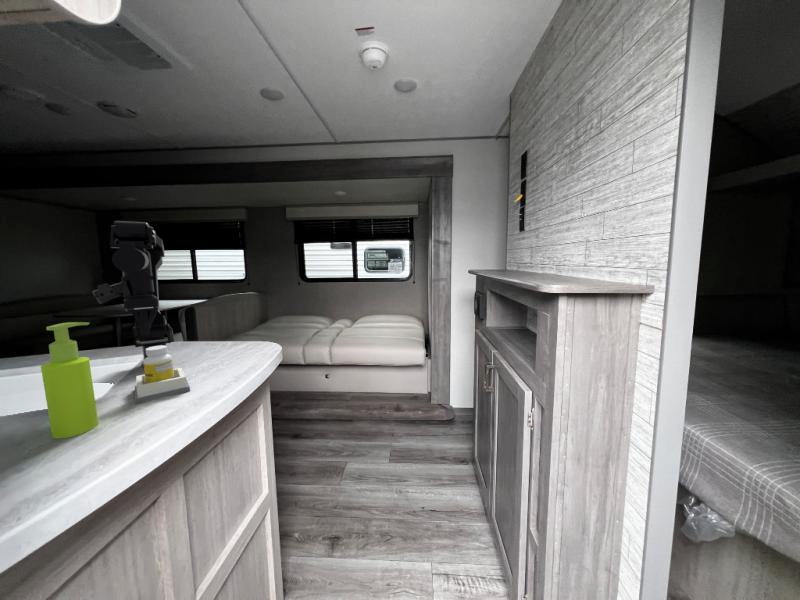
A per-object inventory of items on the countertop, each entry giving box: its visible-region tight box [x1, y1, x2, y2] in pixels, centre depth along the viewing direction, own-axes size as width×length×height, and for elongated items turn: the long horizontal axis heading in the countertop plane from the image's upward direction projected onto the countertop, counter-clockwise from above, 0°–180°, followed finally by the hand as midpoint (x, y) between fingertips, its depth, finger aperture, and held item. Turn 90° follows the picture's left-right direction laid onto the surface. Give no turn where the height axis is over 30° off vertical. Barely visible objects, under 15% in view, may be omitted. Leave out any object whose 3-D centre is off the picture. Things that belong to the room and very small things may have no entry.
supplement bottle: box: [142, 345, 174, 384], centre depth 73 cm, size 5×5×10 cm
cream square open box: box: [134, 367, 191, 404], centre depth 73 cm, size 10×10×4 cm
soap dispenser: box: [40, 321, 99, 439], centre depth 56 cm, size 6×7×20 cm
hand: (144, 331), depth 79 cm, fingers open, 9 cm apart
